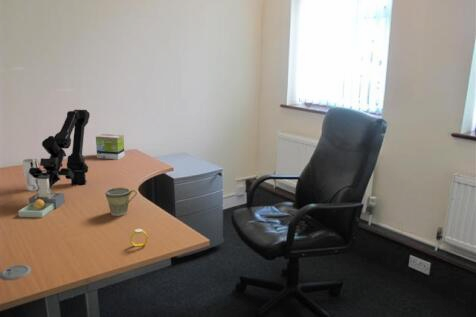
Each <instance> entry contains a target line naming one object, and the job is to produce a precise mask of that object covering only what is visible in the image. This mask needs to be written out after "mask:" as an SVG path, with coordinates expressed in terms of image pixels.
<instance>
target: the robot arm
mask: <svg viewBox="0 0 476 317" xmlns="http://www.w3.org/2000/svg"><path fill="white" fill-rule="evenodd" d="M90 116H91V115H90V112H89V111H88V110H87V109H74V110H68V111H67V113H66V117H65V120H64V122H63V124H62V127H61V128H60V131H59V132H57V133H55V135H54V136H53V135H49V136H48V137H47V138H45V139H44V140H42V142H41V146H42V147H43V148H44V150H45V151H46V153H48V154H49V158H48V157H47V158H40V161H39V162H40V163H39V166H40V167H41V166H42V168H43V169H41V168H40V167H39V168H36V167H32V168H30V169H29V173H30V174H31V175H32V176H33V177H34V178H38V176H40V175H43V176H49V187H50V188H51V187H52V186H54V185H55V184H56V183H57V182H58V181H61V176H65V178H66V180H71V181H70V183H71V185H72V186H79V185H80V186H83V185H86V184H87V182H88V181H87V178H86V173H89V172H88V171H89V166H88V165H87V163H86V159H85V157H84V155H83V145H84V135H85V127H86V126H87V125H88V123H89V120H90ZM72 133H73V139H71V135H72ZM71 144H72V148H71V149H72V150H71V153H70V154H69V155H67V153H66V152H65V150H64V149H69V148H70V147H71ZM66 156H67V161H66V167H63V165H64V164H63V161H64V157H66ZM62 167H63V168H62Z"/></svg>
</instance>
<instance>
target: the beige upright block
mask: <svg viewBox="0 0 476 317" xmlns="http://www.w3.org/2000/svg"><path fill="white" fill-rule="evenodd" d="M38 180H39V186H40V189H39V190H37V193H38V194H39V197H47V196H49V195H50V194H51V193H52V191H51V187H49V176H43V175H40V176H38Z"/></svg>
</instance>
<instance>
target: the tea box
mask: <svg viewBox="0 0 476 317" xmlns="http://www.w3.org/2000/svg"><path fill="white" fill-rule="evenodd" d="M124 137H125V136H124V134H113V133H112V134H108V133H102V134H100V135H97V136H95V145H96V158H97V159H106V160H107V159H109V160H116V161H117V160H120V159H122V158H123V157H125V141H124V140H125V139H124Z"/></svg>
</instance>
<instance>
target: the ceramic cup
mask: <svg viewBox="0 0 476 317" xmlns="http://www.w3.org/2000/svg"><path fill="white" fill-rule="evenodd" d="M134 192H135V195H134V196H132V197H131V198H130V195H131V194H132V193H134ZM137 194H138V193H137V191H136V190H135V189H132V190H131V189H130V188H128V187H113V188H112V187H111V188H108V189H107V190H105V197H106V201H107V204H108V208H109V211H110V214H111V216H115V217H120V216H124V215H126V214H128V209H129V204H130V202H131V201H132V200H133V199H134V198H135V197H136V196H137Z"/></svg>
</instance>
